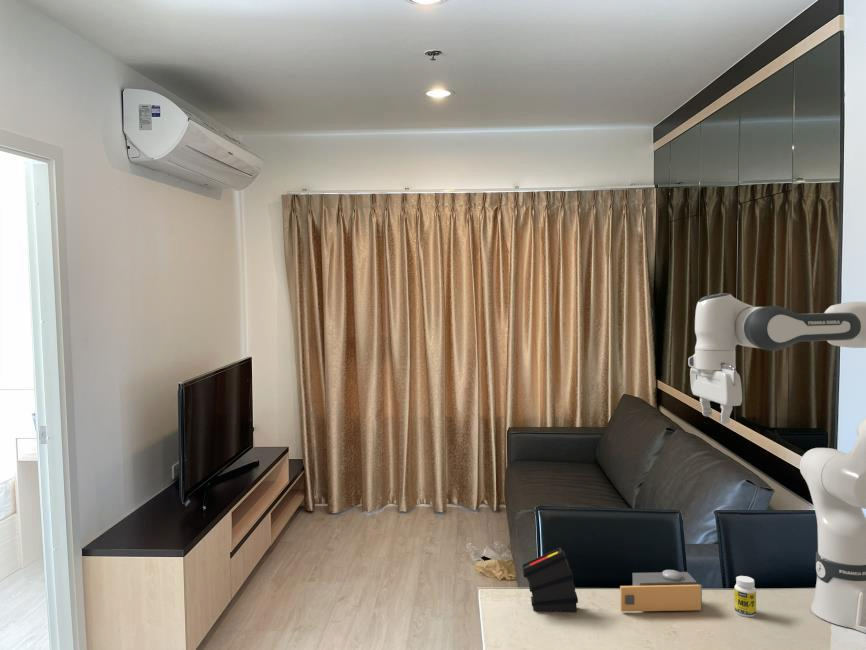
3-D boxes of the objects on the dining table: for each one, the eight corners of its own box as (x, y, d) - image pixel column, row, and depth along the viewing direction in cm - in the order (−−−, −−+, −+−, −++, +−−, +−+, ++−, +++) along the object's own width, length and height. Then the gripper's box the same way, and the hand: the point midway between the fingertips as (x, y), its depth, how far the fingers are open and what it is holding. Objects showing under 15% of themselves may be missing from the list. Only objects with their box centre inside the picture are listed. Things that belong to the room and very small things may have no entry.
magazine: (590, 606, 159) (562, 552, 159) (541, 628, 160) (514, 573, 160) (588, 599, 163) (561, 546, 163) (540, 620, 164) (514, 567, 164)
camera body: (687, 598, 166) (687, 568, 165) (696, 609, 160) (696, 577, 159) (632, 599, 166) (632, 569, 165) (640, 610, 160) (639, 578, 159)
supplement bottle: (736, 616, 156) (735, 581, 156) (733, 607, 160) (732, 574, 160) (757, 618, 155) (757, 583, 154) (754, 609, 159) (754, 576, 159)
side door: (701, 608, 159) (700, 584, 159) (703, 611, 158) (703, 586, 158) (620, 610, 159) (620, 586, 159) (622, 612, 158) (621, 588, 158)
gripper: (749, 365, 143) (750, 427, 144) (710, 358, 164) (710, 412, 164) (721, 365, 144) (721, 427, 144) (685, 358, 164) (686, 412, 164)
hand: (715, 419), depth 154 cm, fingers open, 8 cm apart
